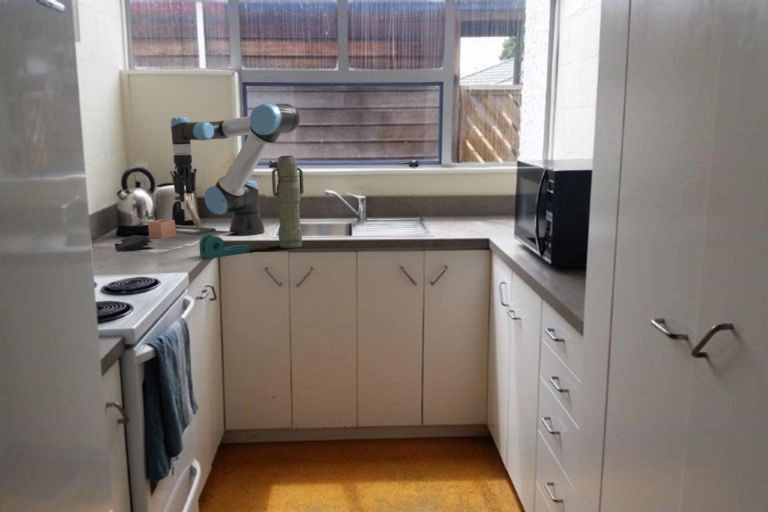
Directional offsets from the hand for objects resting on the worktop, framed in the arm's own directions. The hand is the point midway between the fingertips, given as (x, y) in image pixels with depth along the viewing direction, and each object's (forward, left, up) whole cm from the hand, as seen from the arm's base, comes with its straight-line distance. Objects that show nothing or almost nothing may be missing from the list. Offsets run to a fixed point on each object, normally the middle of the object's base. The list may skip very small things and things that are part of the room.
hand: (186, 208), depth 300 cm
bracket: (-47, +26, -12) cm, 55 cm away
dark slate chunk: (0, +29, -12) cm, 32 cm away
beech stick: (-3, 0, -9) cm, 9 cm away
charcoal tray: (+3, 0, -11) cm, 12 cm away
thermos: (-59, +4, -12) cm, 61 cm away
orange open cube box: (+1, +14, -11) cm, 18 cm away
